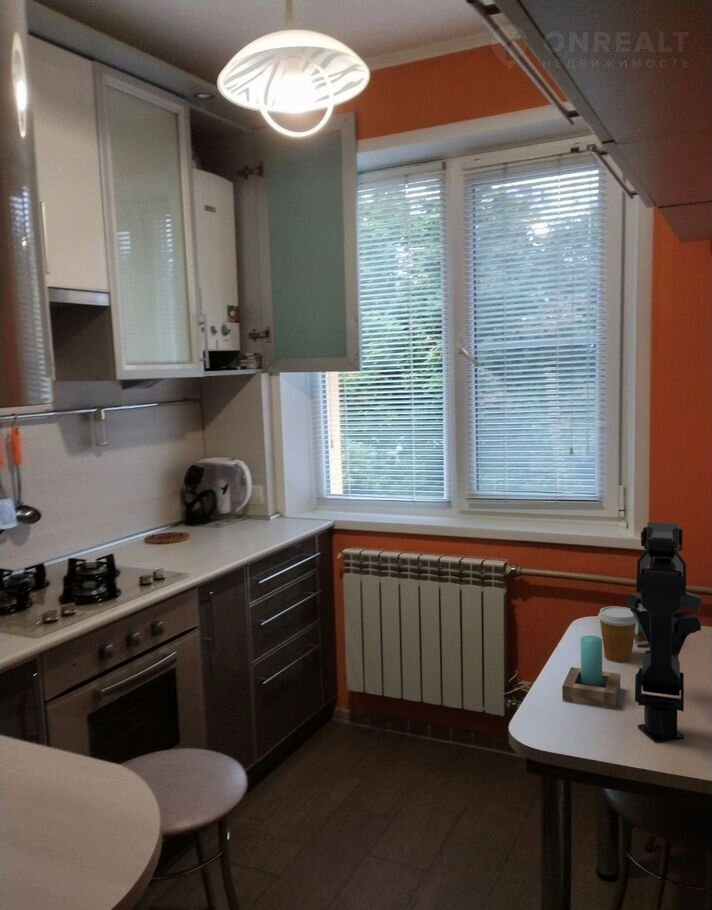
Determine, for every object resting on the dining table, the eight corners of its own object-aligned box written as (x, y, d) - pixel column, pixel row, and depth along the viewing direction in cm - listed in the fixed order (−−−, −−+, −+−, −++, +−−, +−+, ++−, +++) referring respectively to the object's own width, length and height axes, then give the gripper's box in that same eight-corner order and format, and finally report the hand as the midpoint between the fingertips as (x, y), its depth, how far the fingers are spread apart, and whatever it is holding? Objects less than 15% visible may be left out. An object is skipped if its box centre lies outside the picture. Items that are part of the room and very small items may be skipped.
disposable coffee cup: (620, 648, 191) (620, 603, 190) (646, 661, 182) (646, 614, 181) (590, 654, 188) (589, 609, 187) (615, 667, 179) (615, 620, 178)
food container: (663, 650, 189) (664, 612, 187) (638, 649, 190) (638, 612, 189) (654, 633, 201) (654, 598, 199) (630, 632, 202) (630, 597, 201)
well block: (620, 688, 168) (620, 673, 167) (614, 709, 158) (614, 693, 157) (571, 681, 172) (571, 667, 172) (562, 700, 163) (562, 685, 162)
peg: (594, 701, 162) (594, 644, 160) (577, 694, 166) (576, 639, 164) (606, 694, 165) (606, 639, 163) (588, 688, 168) (588, 634, 167)
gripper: (725, 588, 149) (724, 662, 151) (670, 565, 167) (669, 631, 169) (676, 594, 147) (675, 668, 149) (625, 569, 165) (625, 636, 167)
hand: (661, 649), depth 159 cm, fingers open, 9 cm apart
